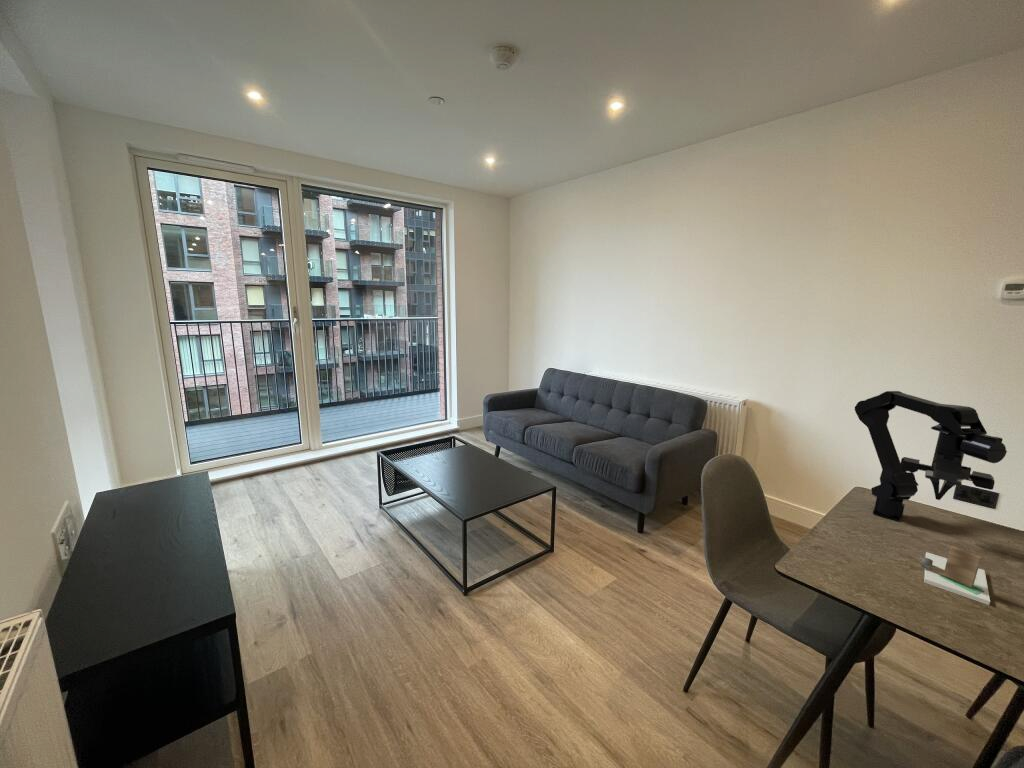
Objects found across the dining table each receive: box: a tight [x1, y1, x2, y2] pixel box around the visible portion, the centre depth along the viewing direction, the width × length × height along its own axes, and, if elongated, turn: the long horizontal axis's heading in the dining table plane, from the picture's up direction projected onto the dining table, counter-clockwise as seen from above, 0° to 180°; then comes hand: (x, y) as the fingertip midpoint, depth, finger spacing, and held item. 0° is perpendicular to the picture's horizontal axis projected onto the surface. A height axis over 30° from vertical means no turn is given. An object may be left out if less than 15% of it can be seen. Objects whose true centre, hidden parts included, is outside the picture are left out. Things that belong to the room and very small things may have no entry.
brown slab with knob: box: [920, 545, 985, 592], centre depth 102 cm, size 12×2×8 cm, turn 27°
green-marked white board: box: [923, 551, 991, 606], centre depth 105 cm, size 11×16×1 cm
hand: (937, 499), depth 121 cm, fingers closed
